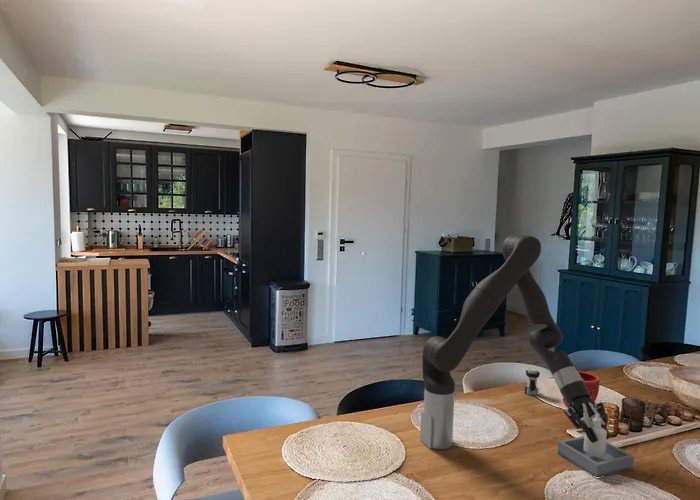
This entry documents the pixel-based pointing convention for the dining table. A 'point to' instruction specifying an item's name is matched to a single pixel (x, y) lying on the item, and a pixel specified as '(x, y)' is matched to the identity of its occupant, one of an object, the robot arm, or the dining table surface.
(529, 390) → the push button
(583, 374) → the plant pot
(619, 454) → the tray
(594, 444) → the eye dropper bottle
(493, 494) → the dining table surface
